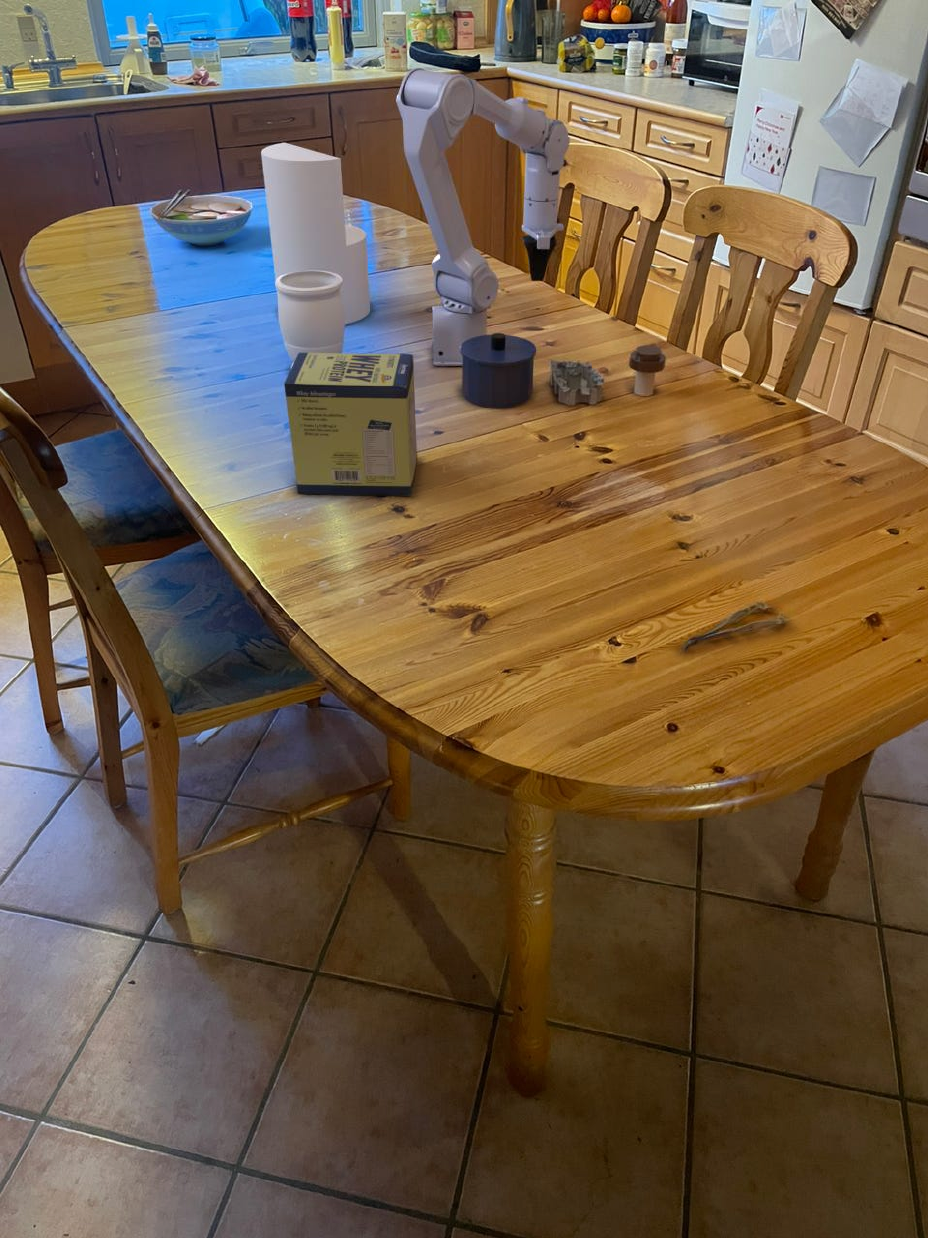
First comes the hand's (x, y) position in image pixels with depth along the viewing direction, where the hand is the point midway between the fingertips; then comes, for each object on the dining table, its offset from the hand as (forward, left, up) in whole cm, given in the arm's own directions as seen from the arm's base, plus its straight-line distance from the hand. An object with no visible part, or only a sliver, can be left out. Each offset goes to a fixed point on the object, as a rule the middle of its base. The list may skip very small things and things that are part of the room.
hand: (537, 279), depth 167 cm
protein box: (-29, -54, -10) cm, 62 cm away
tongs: (+13, -90, -10) cm, 91 cm away
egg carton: (+4, -27, -10) cm, 29 cm away
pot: (-8, -27, -9) cm, 30 cm away
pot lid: (-8, -27, -2) cm, 28 cm away
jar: (-38, -17, -10) cm, 43 cm away
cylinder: (-39, +12, -10) cm, 42 cm away
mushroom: (+15, -27, -9) cm, 32 cm away
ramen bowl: (-70, +59, -10) cm, 92 cm away
